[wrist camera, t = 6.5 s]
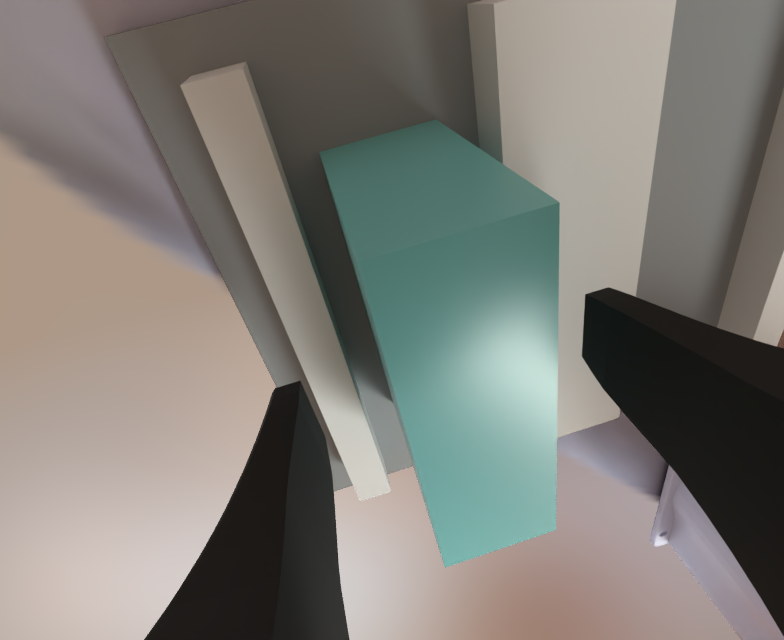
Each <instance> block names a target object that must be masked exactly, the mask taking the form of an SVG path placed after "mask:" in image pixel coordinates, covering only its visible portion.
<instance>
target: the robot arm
mask: <svg viewBox="0 0 784 640" xmlns="http://www.w3.org/2000/svg"><path fill="white" fill-rule="evenodd" d="M582 358H583V359H584V361H585V362H586V364H587V365H588V367H589V369H590V370H591V372H592V373H593V375H594V376H595V378H596V379H597V381H598V382H599V384H600V385H601V387H602V388H603V389H604V391H605V392H606V393H607V394H608V395H609V397H610V398H611V399H612V400H613V401H614V402H615V403H616V405H617V406H618V407H619V408H620V409H621V410H622V412H623V413H624V414H625V415H626V416H627V417H628V418H629V419H630V421H631V422H632V423H633V424H634V425H635V426H636V427H637V429H638V430H639V431H640V432H641V433H642V434H643V435H644V436H645V438H646V439H647V440H648V441H649V442H650V443H651V444H652V445H653V447H654V448H655V449H656V450H657V451H658V452H659V453H660V455H661V456H662V457H663V458H664V459H665V460H666V462H667V463H668V464H669V467H668V471H667V475H666V479H665V482H664V486H663V490H662V494H661V498H660V502H659V506H658V510H657V514H656V517H655V521H654V525H653V529H652V533H651V537H650V541H651V543H652V544H653V545H654V546H661V545H664V544H667V543H669V544H670V545H671V547H672V548H673V549H674V551H675V552H676V553H677V554H678V556H679V557H680V558H681V560H682V561H683V563H684V564H685V565H686V566H687V568H688V569H689V571H690V572H691V573H692V574H693V576H694V577H695V579H696V580H697V581H698V583H699V584H700V585H701V587H702V588H703V589H704V591H705V592H706V593H707V595H708V596H709V598H710V599H711V600H712V602H713V603H714V604H715V606H716V607H717V608H718V610H719V611H720V612H721V614H722V615H723V616H724V618H725V619H726V620H727V622H728V623H729V624H730V626H731V627H732V628H733V630H734V631H735V632H736V634H737V635H738V636H739V638H740V639H741V640H784V349H783V348H780V347H776V346H773V345H769V344H766V343H763V342H759V341H756V340H753V339H750V338H747V337H744V336H741V335H738V334H735V333H732V332H729V331H726V330H723V329H720V328H717V327H714V326H711V325H708V324H706V323H703V322H700V321H697V320H695V319H692V318H689V317H687V316H684V315H681V314H679V313H676V312H674V311H671V310H668V309H666V308H663V307H661V306H658V305H656V304H653V303H650V302H648V301H645V300H643V299H640V298H637V297H635V296H632V295H630V294H627V293H624V292H621V291H619V290H616V289H613V288H609V287H608V288H604V289H601V290H598V291H594V292H591V293H588V294H585V308H584V326H583V343H582ZM144 640H349V635H348V629H347V623H346V616H345V610H344V604H343V597H342V592H341V584H340V574H339V565H338V549H337V534H336V520H335V504H334V490H333V476H332V470H331V464H330V459H329V454H328V448H327V443H326V438H325V435H324V433H323V430H322V428H321V426H320V424H319V421H318V419H317V417H316V415H315V412H314V410H313V408H312V406H311V403H310V401H309V399H308V397H307V394H306V392H305V390H304V388H303V385H302V383H301V381H297V382H294V383H291V384H287V385H284V386H281V387H277V388H275V390H274V391H273V393H272V396H271V399H270V402H269V405H268V408H267V411H266V414H265V417H264V420H263V423H262V425H261V428H260V431H259V433H258V436H257V439H256V441H255V444H254V446H253V449H252V451H251V454H250V456H249V459H248V461H247V463H246V466H245V468H244V471H243V473H242V475H241V477H240V479H239V481H238V483H237V486H236V488H235V490H234V492H233V494H232V496H231V498H230V501H229V503H228V505H227V507H226V509H225V511H224V513H223V515H222V517H221V519H220V521H219V522H218V524H217V526H216V528H215V530H214V532H213V534H212V535H211V537H210V539H209V541H208V542H207V544H206V546H205V548H204V550H203V551H202V553H201V555H200V556H199V558H198V560H197V561H196V563H195V565H194V566H193V568H192V569H191V571H190V573H189V574H188V576H187V577H186V579H185V581H184V582H183V584H182V585H181V587H180V589H179V590H178V592H177V593H176V595H175V596H174V598H173V599H172V601H171V602H170V604H169V605H168V607H167V608H166V610H165V611H164V613H163V614H162V615H161V617H160V618H159V620H158V621H157V623H156V624H155V625H154V627H153V628H152V630H151V631H150V632H149V634H148V635H147V637H146V638H145V639H144Z"/></svg>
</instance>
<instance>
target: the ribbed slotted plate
mask: <svg viewBox="0 0 784 640" xmlns="http://www.w3.org/2000/svg"><path fill="white" fill-rule="evenodd" d="M104 39H105V41H106V43H107V45H108V47H109V49H110V51H111V53H112V55H113V57H114V59H115V61H116V63H117V65H118V67H119V69H120V71H121V73H122V75H123V77H124V79H125V81H126V83H127V85H128V87H129V89H130V91H131V93H132V95H133V97H134V99H135V101H136V104H137V106H138V108H139V110H140V112H141V114H142V116H143V118H144V120H145V122H146V124H147V126H148V128H149V130H150V132H151V134H152V136H153V138H154V140H155V142H156V144H157V146H158V148H159V150H160V152H161V154H162V156H163V158H164V160H165V162H166V164H167V166H168V168H169V170H170V172H171V174H172V176H173V178H174V180H175V182H176V184H177V186H178V189H179V191H180V193H181V195H182V197H183V199H184V201H185V203H186V205H187V207H188V209H189V211H190V213H191V215H192V217H193V219H194V221H195V223H196V225H197V227H198V229H199V231H200V233H201V235H202V237H203V239H204V241H205V243H206V245H207V247H208V249H209V251H210V253H211V255H212V257H213V259H214V261H215V263H216V265H217V267H218V269H219V271H220V273H221V276H222V278H223V280H224V282H225V284H226V286H227V288H228V290H229V292H230V294H231V296H232V298H233V300H234V302H235V304H236V306H237V308H238V310H239V312H240V314H241V316H242V318H243V320H244V322H245V324H246V326H247V328H248V330H249V332H250V334H251V336H252V338H253V340H254V342H255V344H256V346H257V348H258V350H259V352H260V354H261V356H262V358H263V361H264V363H265V364H266V367H267V369H268V371H269V373H270V375H271V377H272V379H273V381H274V383H275V384H276V387H281V386H284V385H287V384H291V383H294V382H297V381H301V383H302V385H303V388H304V390H305V392H306V394H307V397H308V399H309V401H310V403H311V406H312V408H313V410H314V412H315V415H316V417H317V419H318V421H319V424H320V426H321V428H322V430H323V433H324V435H325V438H326V443H327V448H328V454H329V459H330V464H331V470H332V476H333V490H334V491H337V490H340V489H343V488H346V487H349V486H354V489H355V491H356V493H357V496H358V498H359V500H360V501H363V500H367V499H370V498H373V497H376V496H379V495H382V494H385V493H388V492H391V488H390V484H389V480H388V476H387V474H390V473H393V472H396V471H399V470H402V469H405V468H409V467H411V466H413V464H412V461H411V457H410V454H409V451H408V448H407V445H406V442H405V438H404V435H403V432H402V429H401V426H400V422H399V419H398V416H397V413H396V410H395V406H394V403H393V400H392V397H391V393H390V390H389V386H388V383H387V380H386V376H385V373H384V370H383V366H382V363H381V360H380V356H379V353H378V349H377V346H376V343H375V339H374V336H373V333H372V329H371V326H370V322H369V319H368V316H367V312H366V309H365V306H364V302H363V299H362V295H361V292H360V289H359V285H358V282H357V279H356V275H355V272H354V269H353V265H352V262H351V258H350V255H349V252H348V248H347V245H346V242H345V238H344V235H343V231H342V228H341V225H340V221H339V218H338V215H337V211H336V208H335V204H334V201H333V198H332V194H331V191H330V188H329V184H328V181H327V178H326V174H325V171H324V167H323V164H322V161H321V157H320V154H319V152H321V151H324V150H328V149H331V148H335V147H339V146H342V145H346V144H349V143H353V142H356V141H360V140H364V139H367V138H371V137H374V136H378V135H381V134H385V133H389V132H392V131H396V130H399V129H403V128H407V127H410V126H414V125H417V124H421V123H424V122H428V121H432V120H435V119H436V120H438V121H439V122H441V123H442V124H444V125H445V126H447V127H448V128H450V129H451V130H453V131H454V132H456V133H457V134H459V135H460V136H462V137H463V138H465V139H466V140H468V141H469V142H471V143H472V144H474V145H475V146H477V147H478V148H480V149H481V150H483V151H484V152H485V153H487V154H488V155H490V156H491V157H493V158H494V159H496V160H497V161H499V162H500V163H502V164H503V165H505V166H506V167H508V168H509V169H511V170H512V171H514V172H515V173H517V174H518V175H520V176H521V177H523V178H524V179H526V180H527V181H529V182H530V183H532V184H533V185H535V186H536V187H538V188H539V189H541V190H542V191H544V192H545V193H547V194H548V195H550V196H551V197H553V198H554V199H556V200H557V201H558V202H560V225H559V312H558V398H557V438H558V437H561V436H564V435H567V434H571V433H574V432H577V431H580V430H583V429H586V428H589V427H592V426H595V425H598V424H601V423H605V422H608V421H611V420H614V419H617V418H619V415H620V408H619V407H618V406H617V405H616V403H615V402H614V401H613V400H612V399H611V398H610V397H609V395H608V394H607V393H606V392H605V391H604V389H603V388H602V387H601V385H600V384H599V382H598V381H597V379H596V378H595V376H594V375H593V373H592V372H591V370H590V369H589V367H588V365H587V364H586V362H585V361H584V359H583V358H582V343H583V326H584V308H585V294H588V293H591V292H594V291H598V290H601V289H604V288H608V287H609V288H613V289H616V290H619V291H621V292H624V293H627V294H630V295H632V296H635V297H637V298H640V299H643V300H645V301H648V302H650V303H653V304H656V305H658V306H661V307H663V308H666V309H668V310H671V311H674V312H676V313H679V314H681V315H684V316H687V317H689V318H692V319H695V320H697V321H700V322H703V323H706V324H708V325H711V326H714V327H717V328H720V329H723V330H726V331H729V332H732V333H735V334H738V335H741V336H744V337H747V338H750V339H753V340H756V341H759V342H763V343H766V344H769V345H773V346H776V347H777V345H778V342H779V340H780V337H781V335H782V332H783V329H784V0H250V1H246V2H242V3H238V4H234V5H230V6H226V7H222V8H218V9H214V10H210V11H206V12H202V13H198V14H194V15H190V16H186V17H182V18H178V19H174V20H170V21H166V22H162V23H158V24H154V25H150V26H146V27H142V28H138V29H134V30H130V31H126V32H122V33H118V34H114V35H110V36H106V37H104Z"/></svg>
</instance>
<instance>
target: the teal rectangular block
mask: <svg viewBox="0 0 784 640" xmlns="http://www.w3.org/2000/svg"><path fill="white" fill-rule="evenodd" d="M319 154H320V157H321V161H322V164H323V167H324V171H325V174H326V178H327V181H328V184H329V188H330V191H331V194H332V198H333V201H334V204H335V208H336V211H337V215H338V218H339V221H340V225H341V228H342V231H343V235H344V238H345V242H346V245H347V248H348V252H349V255H350V258H351V262H352V265H353V269H354V272H355V275H356V279H357V282H358V285H359V289H360V292H361V295H362V299H363V302H364V306H365V309H366V312H367V316H368V319H369V322H370V326H371V329H372V333H373V336H374V339H375V343H376V346H377V349H378V353H379V356H380V360H381V363H382V366H383V370H384V373H385V376H386V380H387V383H388V386H389V390H390V393H391V397H392V400H393V403H394V406H395V410H396V413H397V416H398V419H399V422H400V426H401V429H402V432H403V435H404V438H405V442H406V445H407V448H408V451H409V454H410V457H411V461H412V464H413V467H414V470H415V473H416V477H417V480H418V483H419V486H420V489H421V492H422V496H423V499H424V502H425V505H426V508H427V511H428V515H429V518H430V521H431V524H432V527H433V530H434V534H435V537H436V540H437V543H438V547H439V550H440V553H441V556H442V559H443V563H444V566H445V567H448V566H451V565H454V564H457V563H460V562H463V561H466V560H469V559H472V558H475V557H478V556H480V555H483V554H487V553H490V552H492V551H495V550H498V549H501V548H504V547H507V546H510V545H513V544H516V543H519V542H522V541H525V540H528V539H531V538H534V537H537V536H540V535H543V534H545V533H549V532H551V531H554V530H556V484H557V483H556V482H557V481H556V480H557V398H558V312H559V225H560V202H558V201H557V200H556V199H554V198H553V197H551V196H550V195H548V194H547V193H545V192H544V191H542V190H541V189H539V188H538V187H536V186H535V185H533V184H532V183H530V182H529V181H527V180H526V179H524V178H523V177H521V176H520V175H518V174H517V173H515V172H514V171H512V170H511V169H509V168H508V167H506V166H505V165H503V164H502V163H500V162H499V161H497V160H496V159H494V158H493V157H491V156H490V155H488V154H487V153H485V152H484V151H483V150H481V149H480V148H478V147H477V146H475V145H474V144H472V143H471V142H469V141H468V140H466V139H465V138H463V137H462V136H460V135H459V134H457V133H456V132H454V131H453V130H451V129H450V128H448V127H447V126H445V125H444V124H442V123H441V122H439V121H438V120H436V119H435V120H432V121H428V122H424V123H421V124H417V125H414V126H410V127H407V128H403V129H399V130H396V131H392V132H389V133H385V134H381V135H378V136H374V137H371V138H367V139H364V140H360V141H356V142H353V143H349V144H346V145H342V146H339V147H335V148H331V149H328V150H324V151H321V152H319Z"/></svg>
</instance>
